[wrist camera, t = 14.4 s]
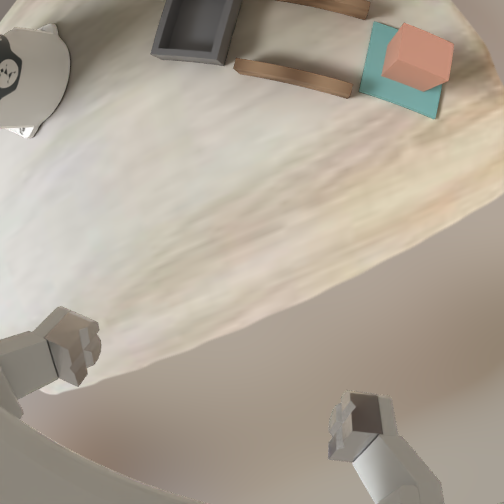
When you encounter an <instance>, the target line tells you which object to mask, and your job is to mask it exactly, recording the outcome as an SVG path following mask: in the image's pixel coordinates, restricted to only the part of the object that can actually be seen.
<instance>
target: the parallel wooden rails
mask: <svg viewBox="0 0 504 504" xmlns="http://www.w3.org/2000/svg"><path fill="white" fill-rule="evenodd" d="M277 1H283V2H290V3H295V4H301V5H306V6H311V7H316V8H320V9H325V10H329V11H333V12H337V13H341V14H345V15H349V16H352V17H356V18H359V19H363V20H365V19H366V16H367V14H368V11H369V7H370V2H369V1H365V0H277ZM233 69H235V70H236V71H237V72H238V73H239V74H243V75H249V76H254V77H260V78H265V79H270V80H275V81H280V82H284V83H289V84H293V85H297V86H302V87H306V88H310V89H314V90H318V91H321V92H325V93H329V94H332V95H336V96H339V97H343V98H346V99H348V98H349V96H350V95H351V91H352V86H353V84H351V83H348V82H345V81H341V80H338V79H334V78H330V77H327V76H323V75H319V74H315V73H311V72H307V71H303V70H298V69H294V68H289V67H284V66H280V65H275V64H269V63H264V62H258V61H252V60H246V59H240V58H236V60H235V64H234V68H233Z"/></svg>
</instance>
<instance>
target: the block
mask: <svg viewBox="0 0 504 504" xmlns="http://www.w3.org/2000/svg"><path fill="white" fill-rule="evenodd" d="M453 48H454V44H453V43H451V42H449V41H446V40H444V39H442V38H440V37H438V36H435V35H433V34H431V33H428V32H426V31H424V30H421V29H419V28H416V27H414V26H411V25H409V24H406V23H404V24H403V25H402V26H401V28H400V29H399V30H398V32H397V33H396V34H395V36H394V37H393V38H392V40H391V41H390V42H389V44H388V45H387V50H386V55H385V60H384V65H383V70H382V74H381V76H382V77H385V78H388V79H391V80H394V81H397V82H399V83H402V84H405V85H407V86H410V87H412V88H415V89H417V90H420V91H422V92H424V91H426V90H429V89H431V88H433V87H435V86H438V85H440V84H442V83H445V82H447V81H449V75H450V69H451V63H452V56H453Z"/></svg>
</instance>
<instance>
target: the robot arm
mask: <svg viewBox="0 0 504 504" xmlns="http://www.w3.org/2000/svg"><path fill="white" fill-rule="evenodd" d="M69 72H70V56H69V52H68V49H67V46H66V44H65V43H64V42H63V41H62V40H61V39H60V37H59V36H58V30H57V26H56V25H55V24H47V25H45V26H43V27H40V28H38V29H36V30H34V29H27V28H20V27H15V28H13V29H12V30H10V31H8V32H7V33H5V34H4V35H0V129H8V130H10V131H12V132H14V133H16V134H18V135H20V136H22V137H24V138H29V139H31V138H32V137H33V136H34V135H35V133H36V131H37V130H38V128H39V126H40V124H41V123H42V122H43V121H44V120H46V119H47V118H48V117H49V116H50V115H51V114H52V113H53V111H54V110H55V109H56V107H57V106H58V104H59V102H60V101H61V99H62V96H63V94H64V92H65V89H66V86H67V82H68V78H69ZM98 331H99V325H98V322H96V321H94V320H92V319H90V318H88V317H85V316H83V315H81V314H78V313H76V312H74V311H71V310H69V309H67V308H65V307H62V306H60V307H57V308H56V309H55V310H54V311H53V312H52V313H51V314H50V315H49V316H48V317H47V318H46V319H45V320H44V321H43V322H42V323H41V324H40V325H39V326H38V327H37V328H36V329H35V330H34V331H33V332H30V331H27V332H24V333H21V334H17V335H14V336H11V337H8V338H4V339H1V340H0V504H210V503H206V502H202V501H198V500H195V499H191V498H187V497H184V496H181V495H177V494H174V493H171V492H168V491H165V490H162V489H159V488H157V487H153V486H151V485H148V484H145V483H143V482H140V481H138V480H135V479H132V478H130V477H127V476H125V475H122V474H120V473H118V472H115V471H113V470H111V469H108V468H106V467H104V466H102V465H100V464H98V463H96V462H93V461H91V460H89V459H87V458H85V457H83V456H81V455H79V454H77V453H75V452H73V451H72V450H70V449H68V448H66V447H64V446H62V445H61V444H59V443H57V442H55V441H54V440H52V439H50V438H48V437H47V436H45V435H43V434H42V433H40V432H38V431H37V430H35V429H34V428H32V427H30V426H29V425H27V424H26V423H24V422H23V421H21V420H20V418H21V417H22V415H23V409H22V407H21V405H20V404H19V402H18V399H20V398H22V397H24V396H26V395H28V394H30V393H32V392H34V391H36V390H38V389H40V388H42V387H44V386H46V385H48V384H50V383H52V382H53V381H55V380H57V379H58V378H60V379H62V380H64V381H66V382H68V383H71V384H73V385H75V386H77V387H79V385H80V384H81V383H82V381H83V380H84V378H85V377H86V376H87V374H88V372H87V368H88V367H90V366H93V365H94V364H95V363H96V361H97V360H98V358H99V355H100V352H101V340H100V338H99V337H98V335H97V333H98ZM329 433H330V434H331V435H332V439H331V440H330V442H329V451H328V452H329V453H328V459H330V460H337V461H345V462H353V463H352V464H353V466H354V467H355V470H356V471H357V473H358V475H359V477H360V478H361V480H362V482H363V483H364V485H365V487H366V489H367V490H368V492H369V494H370V496H371V498H372V499H373V501H374V503H375V504H444V498H443V491H442V485H441V482H440V480H439V479H438V478H437V477H436V476H435V475H434V473H433V472H432V471H431V470H430V469H429V467H428V466H427V465H426V464H425V463H424V462H423V460H422V459H421V458H420V457H419V456H418V455H417V453H416V452H415V451H414V450H413V448H412V447H411V446H410V445H409V444H408V442H407V441H406V440H405V439H404V438H403V437H402V436H398V431H397V425H396V419H395V413H394V408H393V403H392V398H391V397H390V396H387V395H379V394H372V393H365V392H358V391H350V390H347V391H345V392H344V394H343V395H342V397H341V403H340V404H338V405H336V406H335V408H334V409H333V411H332V414H331V417H330V421H329ZM499 504H504V502H502V503H499Z"/></svg>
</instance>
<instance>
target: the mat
mask: <svg viewBox="0 0 504 504" xmlns="http://www.w3.org/2000/svg"><path fill="white" fill-rule="evenodd" d="M397 32H398V29H395V28H393V27H390V26H387V25H384V24H381V23H378V22H375V21H374V23H373V28H372V33H371V38H370V43H369V48H368V53H367V57H366V62H365V67H364V71H363V76H362V80H361V84H360V89H359V92H362V93H365V94H368V95H371V96H374V97H377V98H380V99H383V100H386V101H388V102H391V103H394V104H397V105H399V106H402V107H405V108H407V109H410V110H412V111H415V112H418V113H420V114H422V115H425V116H427V117H430V118H432V119H435V117H436V113H437V108H438V103H439V98H440V93H441V88H442V84H440V85H438V86H435V87H433V88H431V89H429V90H426V91H424V92H422V91H420V90H417V89H415V88H412V87H410V86H407V85H405V84H402V83H399V82H397V81H394V80H391V79H388V78H385V77H382V76H381V74H382V70H383V65H384V60H385V55H386V50H387V45H388V44H389V42H390V41H391V40H392V38H393V37H394V36H395V34H396V33H397Z"/></svg>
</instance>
